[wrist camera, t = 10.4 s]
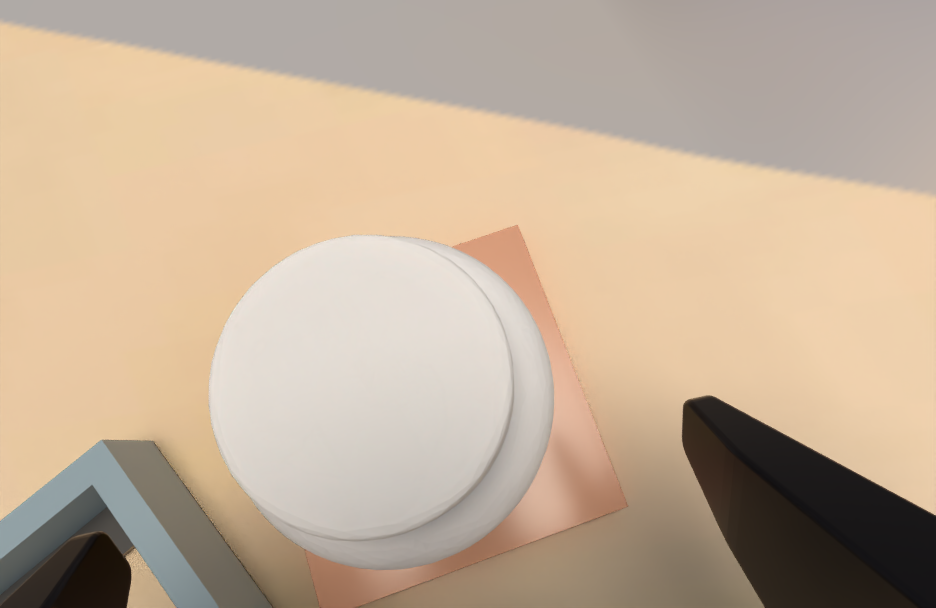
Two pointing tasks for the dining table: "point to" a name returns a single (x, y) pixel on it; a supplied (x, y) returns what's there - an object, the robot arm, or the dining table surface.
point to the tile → (559, 476)
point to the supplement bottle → (382, 399)
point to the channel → (128, 526)
